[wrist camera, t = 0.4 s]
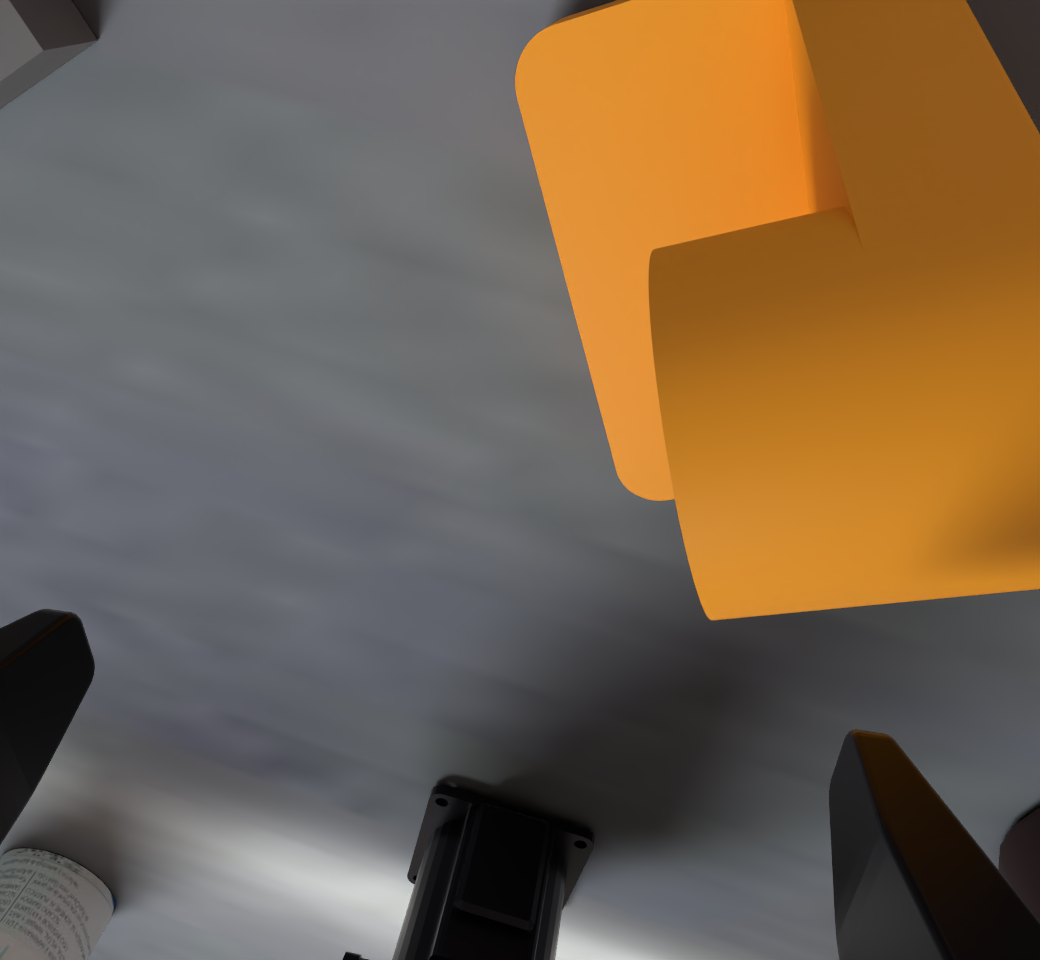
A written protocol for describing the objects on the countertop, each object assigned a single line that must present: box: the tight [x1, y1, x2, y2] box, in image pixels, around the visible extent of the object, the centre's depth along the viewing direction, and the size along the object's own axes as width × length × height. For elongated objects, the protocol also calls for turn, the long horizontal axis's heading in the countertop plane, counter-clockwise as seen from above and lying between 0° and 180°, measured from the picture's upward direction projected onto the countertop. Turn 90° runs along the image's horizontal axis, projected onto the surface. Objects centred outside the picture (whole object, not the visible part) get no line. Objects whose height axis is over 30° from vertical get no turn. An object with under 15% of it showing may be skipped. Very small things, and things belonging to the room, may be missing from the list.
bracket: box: [515, 0, 1040, 620], centre depth 15 cm, size 11×7×12 cm, turn 16°
